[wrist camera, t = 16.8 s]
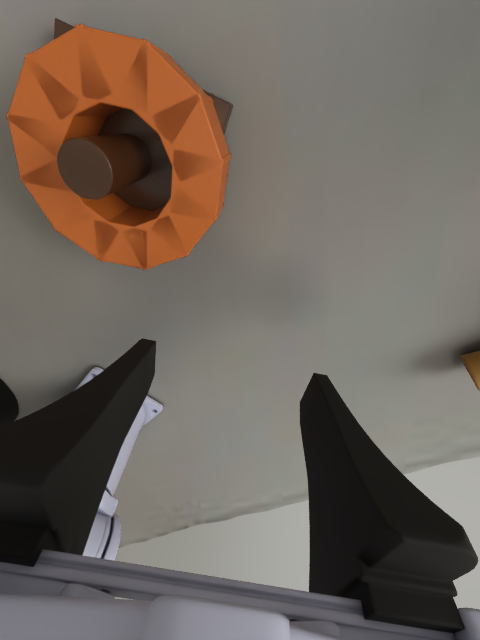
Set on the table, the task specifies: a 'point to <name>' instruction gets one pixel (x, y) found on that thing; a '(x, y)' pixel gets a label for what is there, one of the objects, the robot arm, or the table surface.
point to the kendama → (473, 366)
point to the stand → (122, 157)
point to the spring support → (7, 405)
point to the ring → (87, 120)
